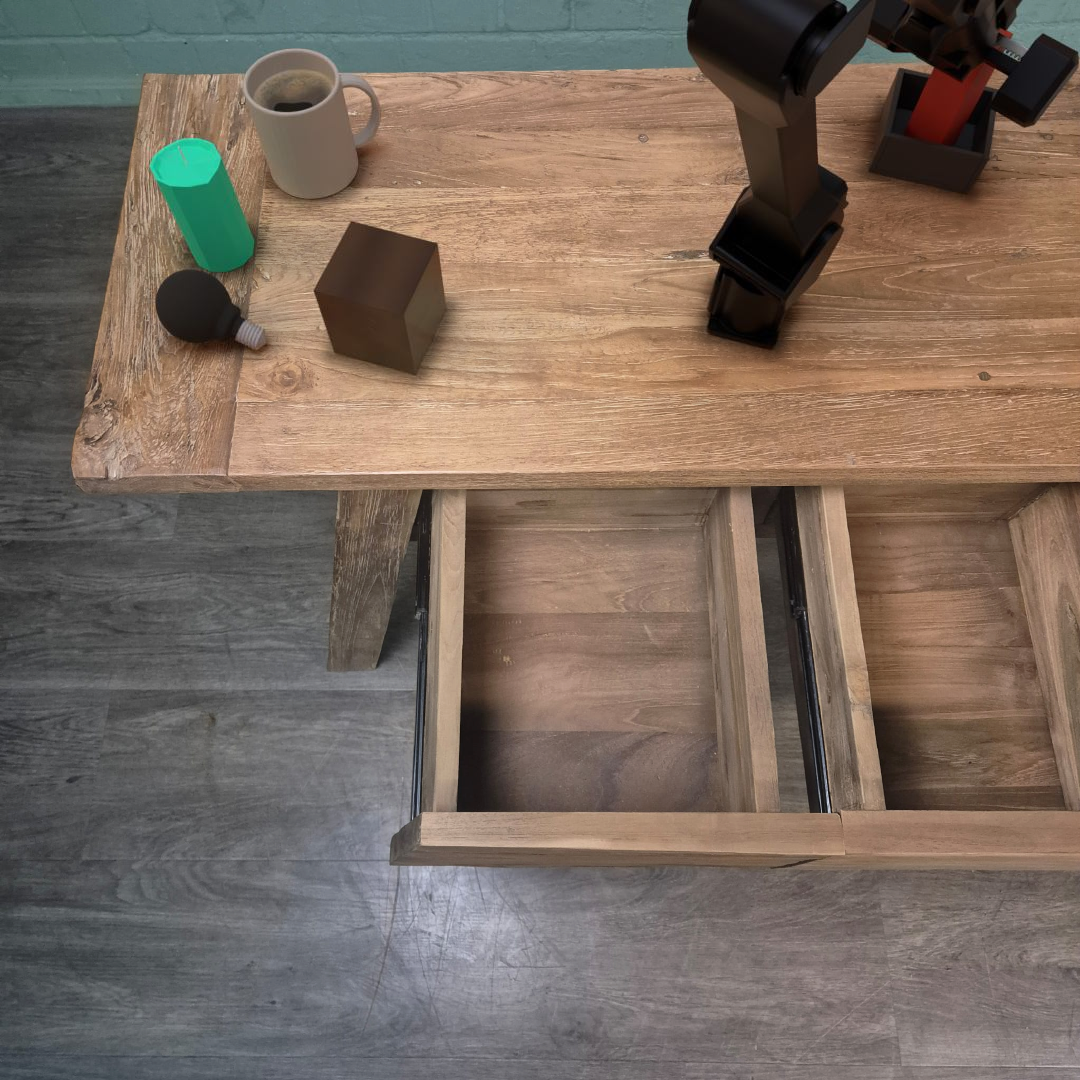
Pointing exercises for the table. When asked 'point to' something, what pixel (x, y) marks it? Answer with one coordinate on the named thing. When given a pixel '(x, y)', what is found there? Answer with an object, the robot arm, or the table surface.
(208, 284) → the light bulb
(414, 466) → the table surface
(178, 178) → the candle
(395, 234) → the dark wooden block
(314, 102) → the mug
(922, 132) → the red rectangular block
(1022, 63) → the robot arm
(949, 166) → the dark gray open box
